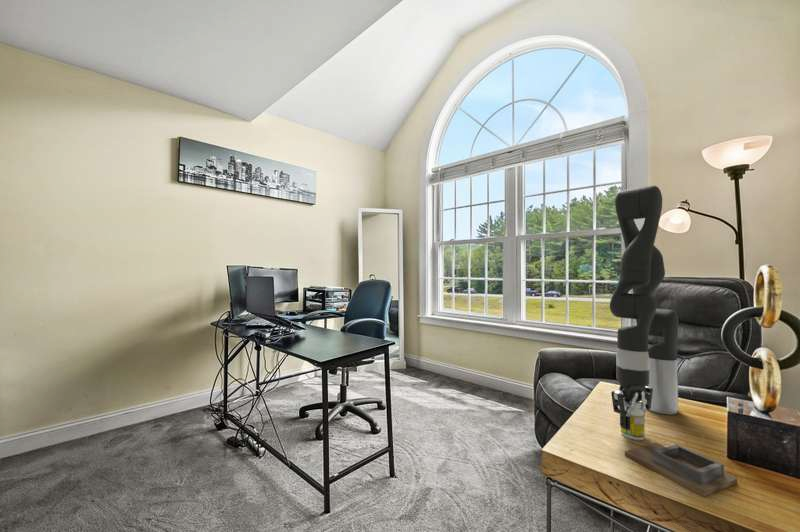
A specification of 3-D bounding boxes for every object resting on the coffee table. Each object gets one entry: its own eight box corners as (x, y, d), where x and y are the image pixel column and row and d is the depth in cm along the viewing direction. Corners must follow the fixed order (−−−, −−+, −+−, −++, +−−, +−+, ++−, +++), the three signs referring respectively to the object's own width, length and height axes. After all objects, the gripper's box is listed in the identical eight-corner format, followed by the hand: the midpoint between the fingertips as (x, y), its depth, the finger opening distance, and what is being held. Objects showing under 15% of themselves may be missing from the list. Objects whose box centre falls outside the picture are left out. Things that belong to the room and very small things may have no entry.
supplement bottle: (649, 440, 89) (649, 404, 89) (629, 440, 89) (629, 404, 89) (635, 431, 94) (635, 397, 94) (616, 430, 94) (616, 396, 94)
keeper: (656, 446, 86) (656, 432, 86) (736, 483, 71) (736, 466, 71) (624, 455, 82) (624, 441, 82) (704, 496, 67) (704, 479, 67)
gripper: (635, 359, 98) (635, 417, 98) (601, 364, 93) (601, 425, 92) (663, 366, 91) (663, 428, 91) (628, 371, 86) (628, 437, 85)
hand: (632, 426), depth 92 cm, fingers closed on supplement bottle, 5 cm apart
